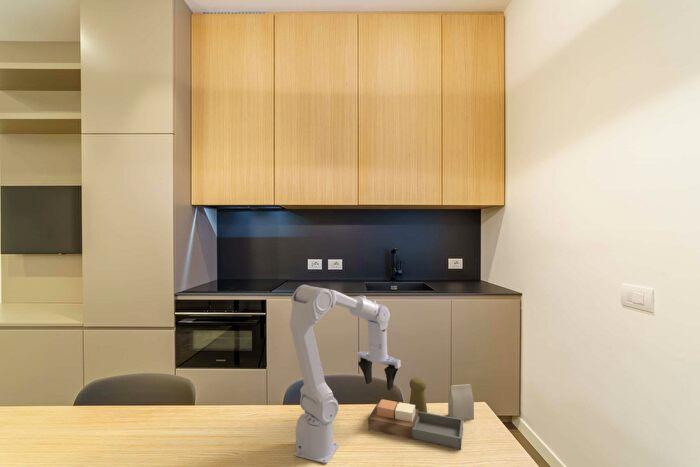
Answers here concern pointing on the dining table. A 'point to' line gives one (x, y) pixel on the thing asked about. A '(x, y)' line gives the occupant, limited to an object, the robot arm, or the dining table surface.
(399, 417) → the cream ceramic tile
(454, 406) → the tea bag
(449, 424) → the tray
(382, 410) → the terracotta tile
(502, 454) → the dining table surface
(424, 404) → the olive pepper mill
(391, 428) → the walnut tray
